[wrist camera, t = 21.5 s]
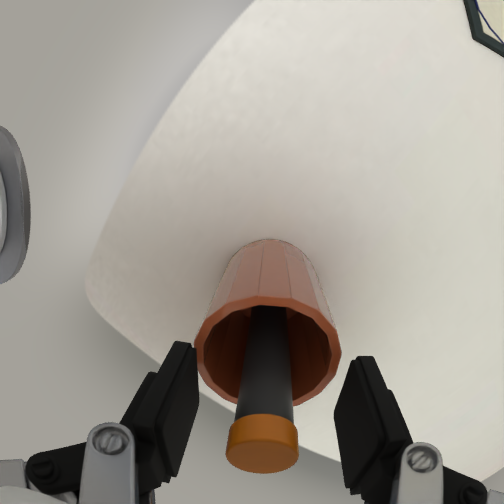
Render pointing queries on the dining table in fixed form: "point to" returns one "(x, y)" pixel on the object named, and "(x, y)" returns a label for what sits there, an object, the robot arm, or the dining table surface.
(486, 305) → the dining table surface
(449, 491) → the robot arm
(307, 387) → the pen cup
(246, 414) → the marker
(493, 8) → the drawing mat
